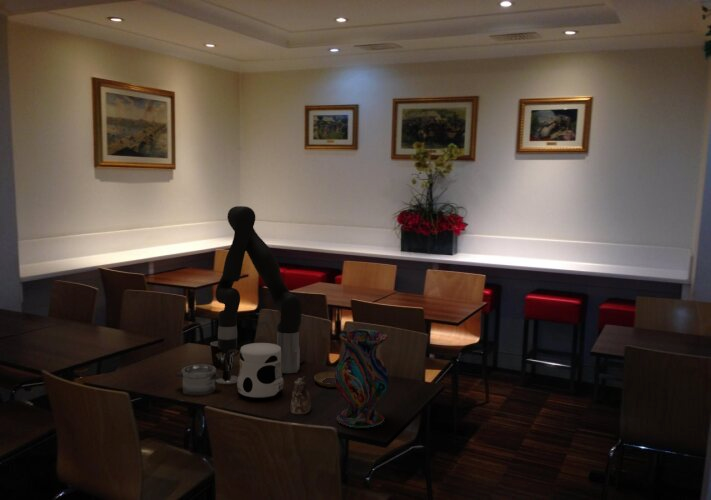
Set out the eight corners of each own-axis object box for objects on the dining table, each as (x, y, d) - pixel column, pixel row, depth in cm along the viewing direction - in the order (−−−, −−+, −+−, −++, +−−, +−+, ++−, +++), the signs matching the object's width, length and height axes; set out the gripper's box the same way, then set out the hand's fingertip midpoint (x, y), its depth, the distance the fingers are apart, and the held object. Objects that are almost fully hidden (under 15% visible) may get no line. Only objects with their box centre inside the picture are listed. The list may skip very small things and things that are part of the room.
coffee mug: (206, 367, 264) (206, 344, 263) (216, 362, 272) (216, 339, 271) (230, 370, 261) (231, 347, 260) (240, 365, 269) (240, 342, 268)
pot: (225, 386, 242) (225, 365, 241) (214, 397, 230) (214, 375, 229) (184, 383, 244) (184, 363, 243) (171, 394, 232) (171, 373, 231)
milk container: (233, 388, 239) (233, 343, 237) (277, 384, 246) (277, 340, 243) (241, 404, 223) (242, 356, 221) (288, 400, 229) (289, 352, 227)
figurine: (286, 410, 219) (286, 378, 217) (298, 405, 225) (299, 373, 223) (301, 415, 215) (302, 382, 213) (314, 409, 221) (315, 377, 219)
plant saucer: (350, 390, 243) (350, 383, 242) (312, 389, 242) (313, 382, 242) (350, 377, 257) (350, 371, 257) (314, 377, 257) (315, 371, 257)
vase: (326, 426, 207) (328, 338, 203) (343, 407, 224) (345, 326, 220) (379, 434, 201) (382, 344, 198) (392, 414, 219) (396, 331, 215)
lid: (241, 377, 253) (241, 367, 252) (234, 385, 244) (234, 374, 244) (220, 376, 254) (220, 366, 253) (212, 383, 245) (212, 372, 244)
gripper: (231, 341, 239) (231, 384, 242) (241, 332, 253) (241, 373, 255) (212, 340, 240) (212, 383, 242) (223, 331, 254) (223, 372, 256)
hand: (227, 377), depth 249 cm, fingers closed on lid, 2 cm apart
